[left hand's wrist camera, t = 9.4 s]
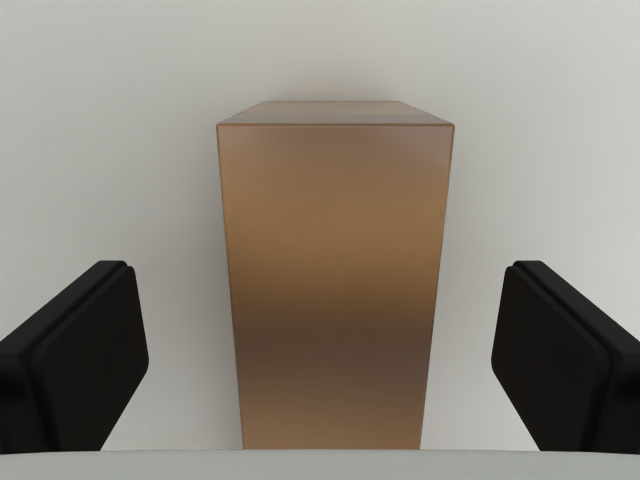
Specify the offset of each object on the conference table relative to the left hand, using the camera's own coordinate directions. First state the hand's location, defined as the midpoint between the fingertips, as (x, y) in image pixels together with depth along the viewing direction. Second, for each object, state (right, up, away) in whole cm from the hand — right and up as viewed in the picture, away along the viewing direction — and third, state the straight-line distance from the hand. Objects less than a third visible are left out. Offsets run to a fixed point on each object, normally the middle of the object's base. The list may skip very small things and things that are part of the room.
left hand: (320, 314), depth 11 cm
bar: (0, -19, +14) cm, 23 cm away
